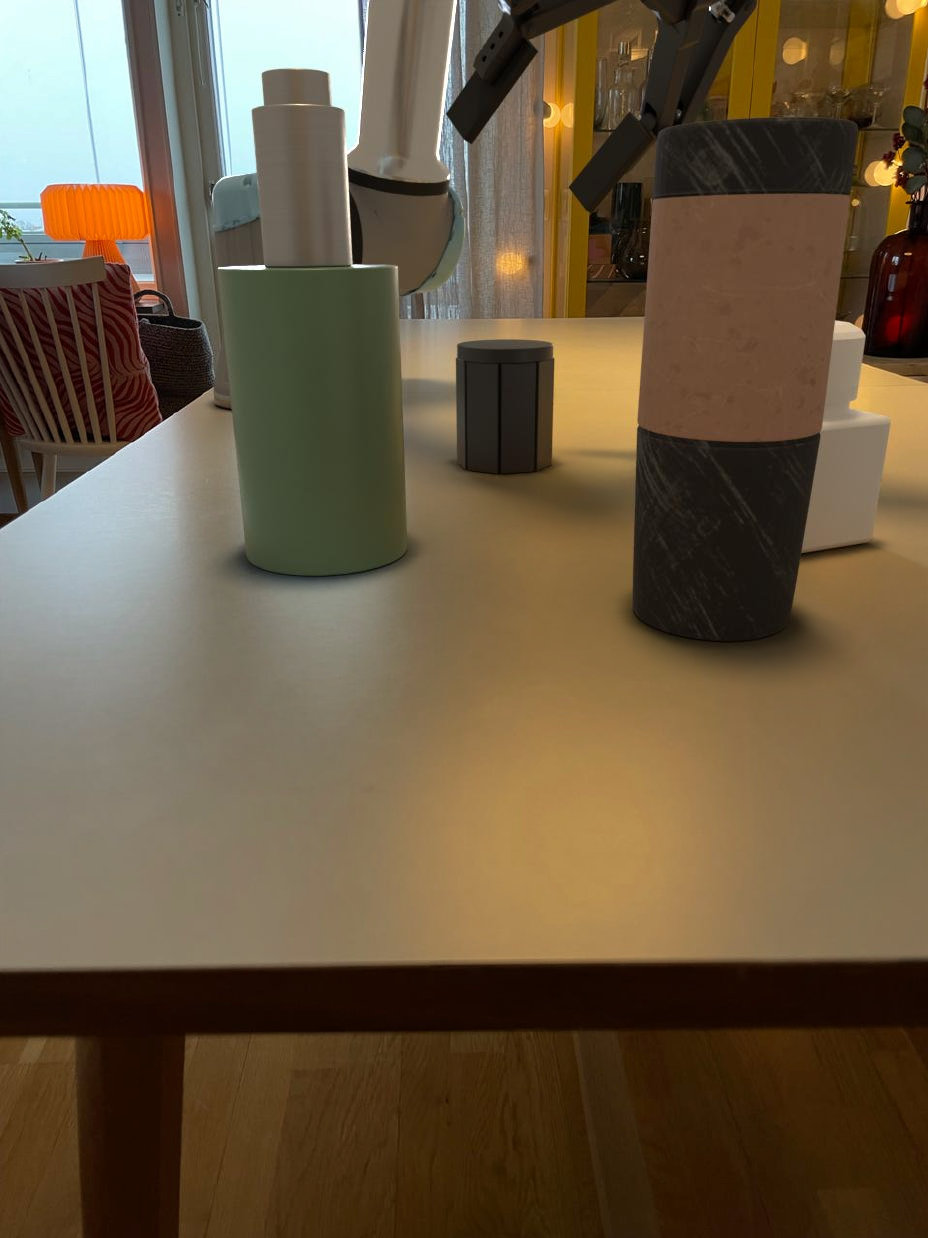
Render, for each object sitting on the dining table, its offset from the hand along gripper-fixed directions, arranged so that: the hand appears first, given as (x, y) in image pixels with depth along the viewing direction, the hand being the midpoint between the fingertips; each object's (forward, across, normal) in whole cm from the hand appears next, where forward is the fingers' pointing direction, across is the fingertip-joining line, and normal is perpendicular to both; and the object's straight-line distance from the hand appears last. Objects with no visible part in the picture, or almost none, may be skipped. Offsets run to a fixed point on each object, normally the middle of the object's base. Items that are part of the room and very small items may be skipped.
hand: (523, 167), depth 65 cm
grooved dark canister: (+16, +6, -12) cm, 21 cm away
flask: (+17, -17, -22) cm, 32 cm away
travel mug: (+2, -11, -37) cm, 38 cm away
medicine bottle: (+1, +2, -32) cm, 32 cm away
